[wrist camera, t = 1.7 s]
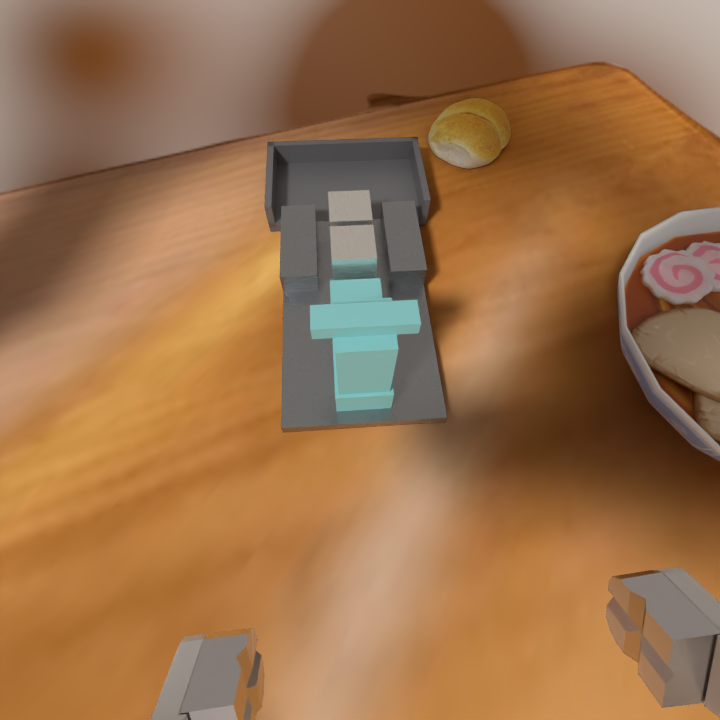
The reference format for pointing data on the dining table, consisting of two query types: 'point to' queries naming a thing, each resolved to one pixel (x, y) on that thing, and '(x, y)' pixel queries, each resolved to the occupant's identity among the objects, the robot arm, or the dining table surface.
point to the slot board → (315, 356)
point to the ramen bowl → (676, 322)
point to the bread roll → (470, 133)
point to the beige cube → (353, 252)
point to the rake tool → (363, 340)
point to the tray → (344, 174)
